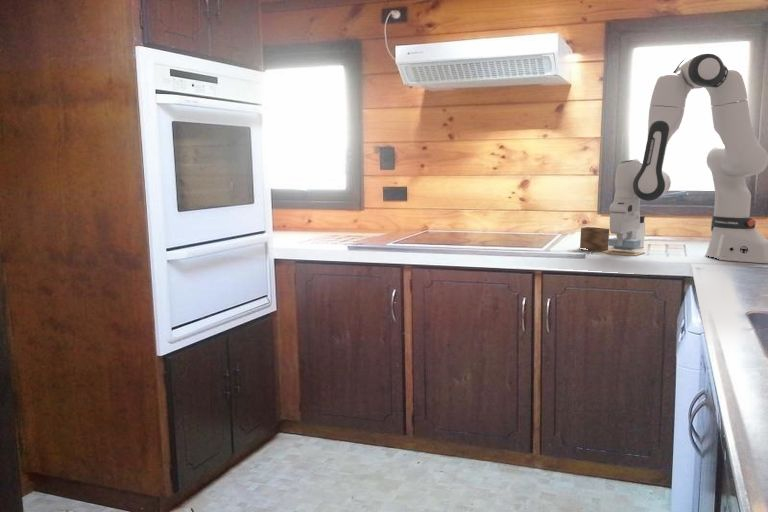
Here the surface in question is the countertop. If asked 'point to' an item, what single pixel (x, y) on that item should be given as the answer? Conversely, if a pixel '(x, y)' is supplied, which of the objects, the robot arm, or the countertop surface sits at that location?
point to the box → (594, 239)
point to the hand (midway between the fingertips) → (624, 244)
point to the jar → (639, 232)
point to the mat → (623, 252)
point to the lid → (625, 244)
